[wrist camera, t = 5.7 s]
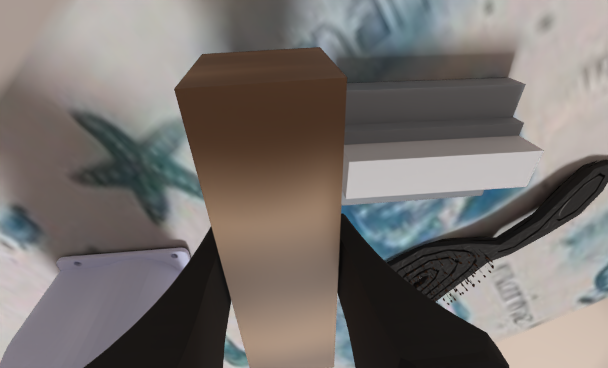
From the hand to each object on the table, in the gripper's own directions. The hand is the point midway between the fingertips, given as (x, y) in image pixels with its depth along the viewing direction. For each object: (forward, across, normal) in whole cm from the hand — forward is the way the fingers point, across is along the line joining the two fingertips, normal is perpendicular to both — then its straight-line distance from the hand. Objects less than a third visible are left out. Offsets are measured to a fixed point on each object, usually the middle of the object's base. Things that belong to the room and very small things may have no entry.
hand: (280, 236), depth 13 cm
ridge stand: (+8, -9, 0) cm, 13 cm away
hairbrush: (+9, -17, +11) cm, 22 cm away
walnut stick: (+2, 0, 0) cm, 2 cm away
